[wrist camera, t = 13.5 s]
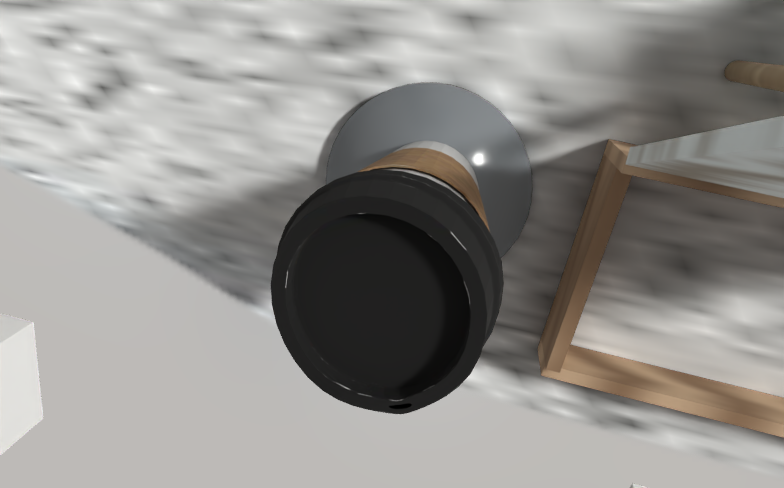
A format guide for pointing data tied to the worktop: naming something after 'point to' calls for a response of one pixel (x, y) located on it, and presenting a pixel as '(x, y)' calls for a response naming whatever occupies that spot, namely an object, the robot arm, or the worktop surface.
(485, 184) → the disc
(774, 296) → the worktop surface
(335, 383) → the coffee cup
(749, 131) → the frame
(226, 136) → the worktop surface
